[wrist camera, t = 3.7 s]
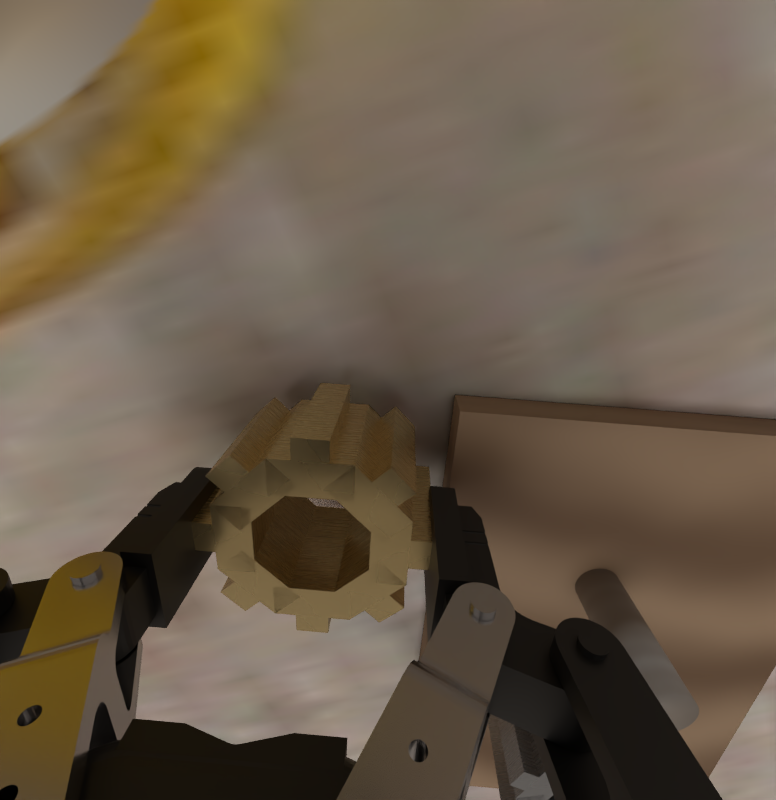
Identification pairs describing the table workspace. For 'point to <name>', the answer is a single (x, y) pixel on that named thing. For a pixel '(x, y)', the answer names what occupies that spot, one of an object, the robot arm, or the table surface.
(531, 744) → the steel gear
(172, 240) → the table surface
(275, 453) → the brass gear
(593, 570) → the gear board
